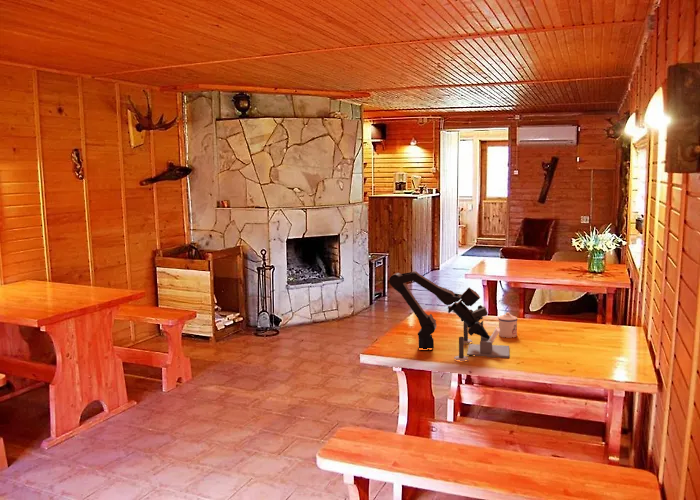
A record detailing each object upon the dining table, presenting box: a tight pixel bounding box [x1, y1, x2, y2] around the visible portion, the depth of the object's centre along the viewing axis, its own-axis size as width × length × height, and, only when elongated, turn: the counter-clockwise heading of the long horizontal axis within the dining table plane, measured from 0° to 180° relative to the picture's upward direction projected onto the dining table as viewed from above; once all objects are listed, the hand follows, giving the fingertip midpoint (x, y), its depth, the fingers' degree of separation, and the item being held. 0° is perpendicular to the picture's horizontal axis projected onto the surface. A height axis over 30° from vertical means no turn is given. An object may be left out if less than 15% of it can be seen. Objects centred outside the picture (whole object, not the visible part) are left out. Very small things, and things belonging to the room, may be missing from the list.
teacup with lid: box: [498, 311, 518, 338], centre depth 287 cm, size 12×9×12 cm
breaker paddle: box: [488, 326, 500, 344], centre depth 259 cm, size 2×6×10 cm, turn 165°
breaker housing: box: [466, 336, 510, 359], centre depth 260 cm, size 18×16×6 cm
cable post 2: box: [463, 321, 473, 343], centre depth 276 cm, size 6×6×10 cm
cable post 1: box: [453, 336, 469, 361], centre depth 249 cm, size 6×6×10 cm
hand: (489, 337), depth 259 cm, fingers closed
